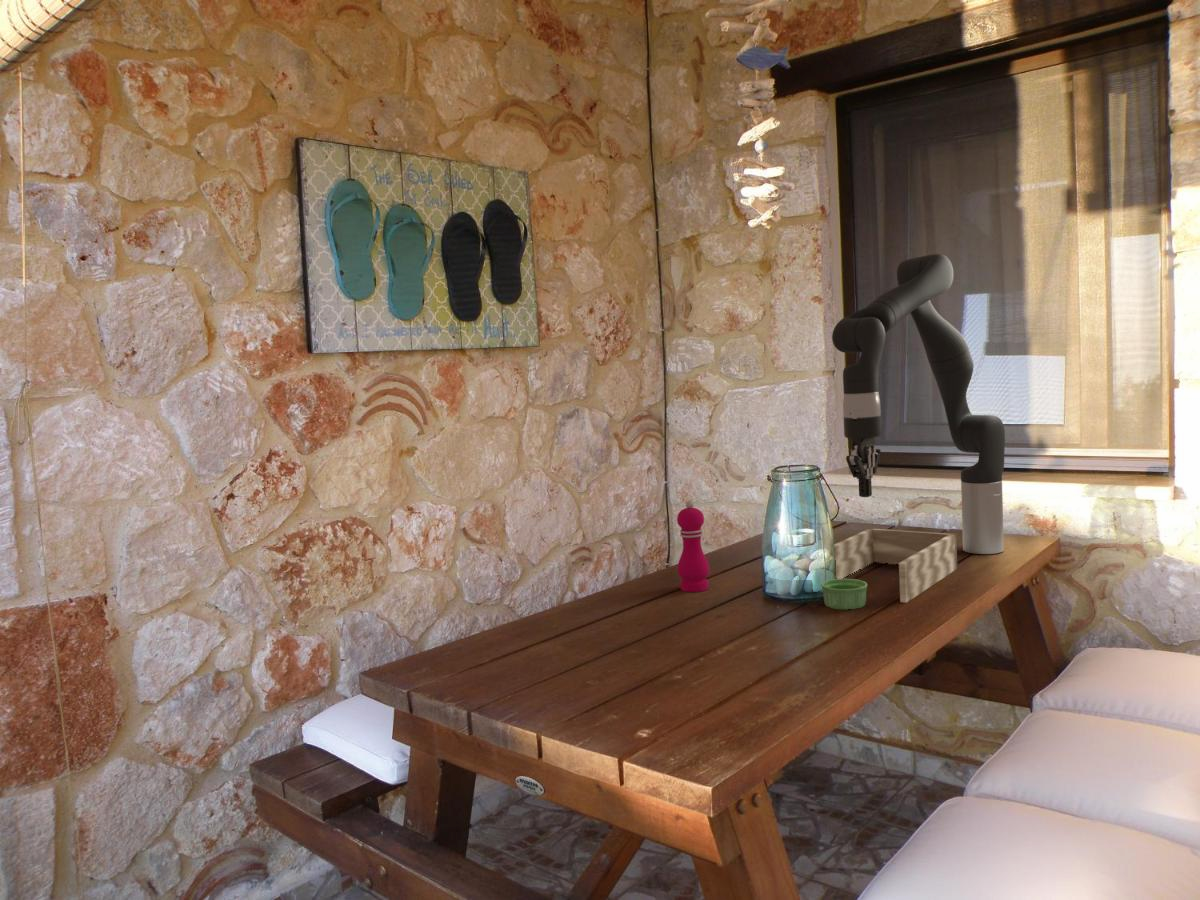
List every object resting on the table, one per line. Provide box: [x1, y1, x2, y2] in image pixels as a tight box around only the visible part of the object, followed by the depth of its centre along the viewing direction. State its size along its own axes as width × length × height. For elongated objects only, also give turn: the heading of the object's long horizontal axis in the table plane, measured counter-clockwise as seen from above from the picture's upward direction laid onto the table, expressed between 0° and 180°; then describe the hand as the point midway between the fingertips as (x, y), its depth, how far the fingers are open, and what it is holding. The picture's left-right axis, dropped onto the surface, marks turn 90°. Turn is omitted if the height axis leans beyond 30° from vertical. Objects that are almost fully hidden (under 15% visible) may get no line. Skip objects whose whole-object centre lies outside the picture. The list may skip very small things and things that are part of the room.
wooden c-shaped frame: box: [833, 528, 958, 604], centre depth 201 cm, size 32×20×8 cm, turn 141°
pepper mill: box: [676, 500, 711, 593], centre depth 204 cm, size 7×7×20 cm
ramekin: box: [821, 578, 868, 611], centre depth 184 cm, size 9×9×4 cm
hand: (865, 496), depth 191 cm, fingers closed
